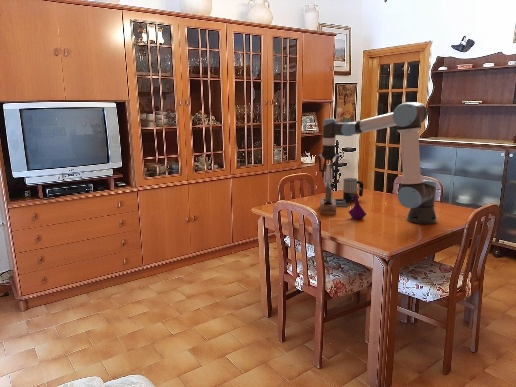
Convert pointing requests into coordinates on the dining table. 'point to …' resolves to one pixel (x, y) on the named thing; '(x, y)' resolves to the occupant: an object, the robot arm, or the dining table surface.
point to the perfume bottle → (357, 208)
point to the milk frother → (351, 189)
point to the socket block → (341, 203)
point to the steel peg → (328, 175)
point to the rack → (327, 207)
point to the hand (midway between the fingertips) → (327, 182)
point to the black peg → (328, 195)
